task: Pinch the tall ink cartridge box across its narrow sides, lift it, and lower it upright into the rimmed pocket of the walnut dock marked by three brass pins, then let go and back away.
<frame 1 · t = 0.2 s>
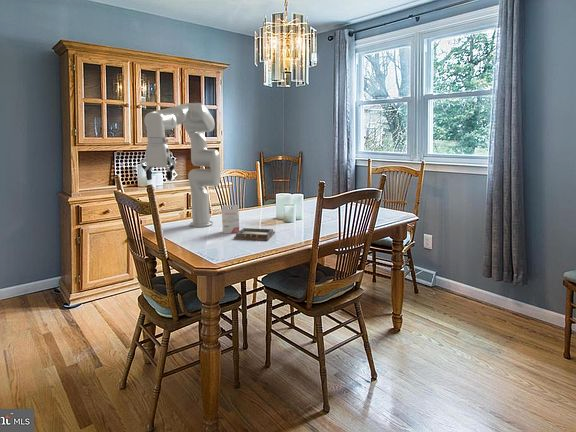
hand: (159, 180, 192), 31 cm above the table, tool pointing down, fingers open, 9 cm apart
dock: (254, 236, 215), on the table
ink cartridge box: (230, 232, 224), on the table
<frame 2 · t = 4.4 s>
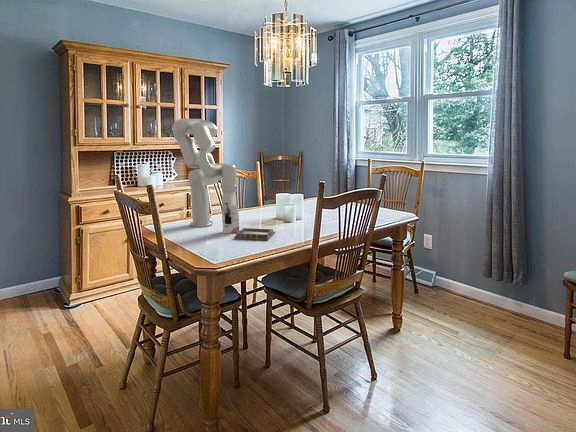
hand: (230, 222, 223), 5 cm above the table, tool pointing down, fingers closed on ink cartridge box, 6 cm apart
ink cartridge box: (230, 232, 224), on the table, touching gripper
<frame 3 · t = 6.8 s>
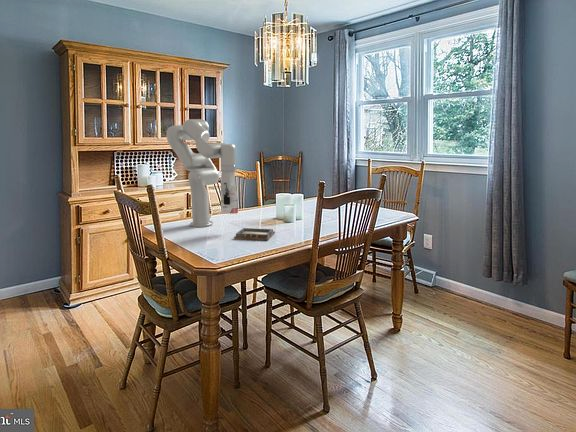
hand: (229, 202, 222), 15 cm above the table, tool pointing down, fingers closed on ink cartridge box, 6 cm apart
ink cartridge box: (229, 213, 223), point 10 cm above the table, touching gripper
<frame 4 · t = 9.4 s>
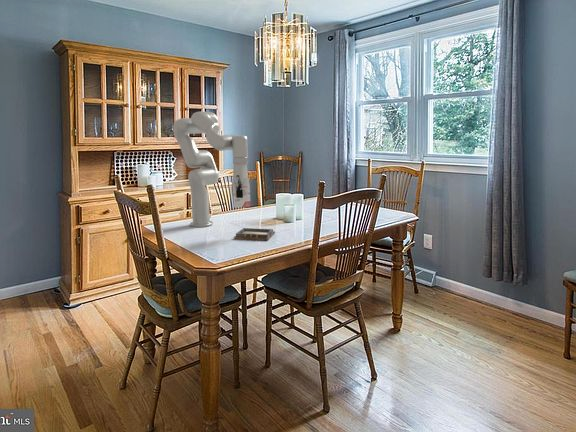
hand: (241, 196, 216), 20 cm above the table, tool pointing down, fingers closed on ink cartridge box, 6 cm apart
ink cartridge box: (242, 206, 217), point 14 cm above the table, touching gripper
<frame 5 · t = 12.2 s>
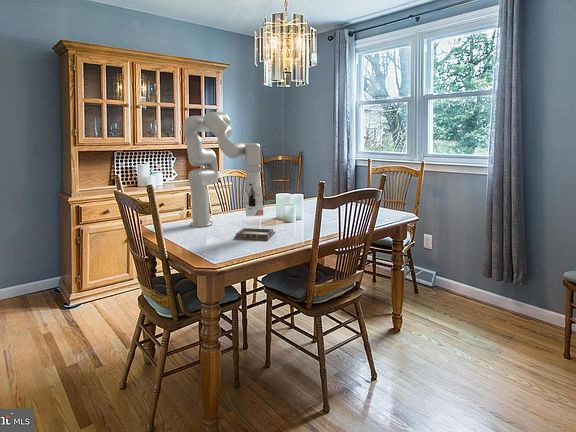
hand: (254, 204, 212), 16 cm above the table, tool pointing down, fingers closed on ink cartridge box, 6 cm apart
ink cartridge box: (254, 215, 213), point 11 cm above the table, touching gripper
when the fingers open (7 cm above the table, at t = 14.6 s): ink cartridge box stays where it is, resting on dock.
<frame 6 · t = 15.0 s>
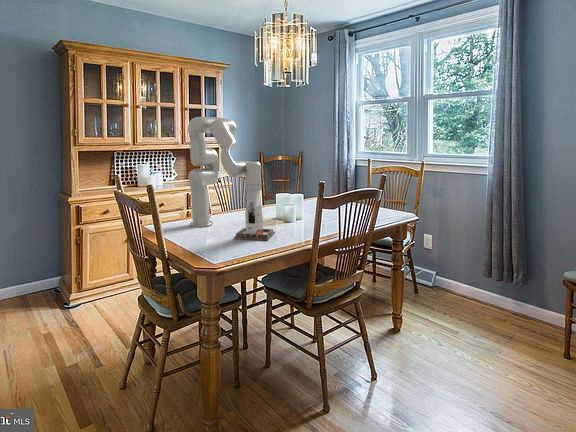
hand: (254, 221, 214), 8 cm above the table, tool pointing down, fingers open, 9 cm apart
ink cartridge box: (254, 234, 215), point 1 cm above the table, touching dock
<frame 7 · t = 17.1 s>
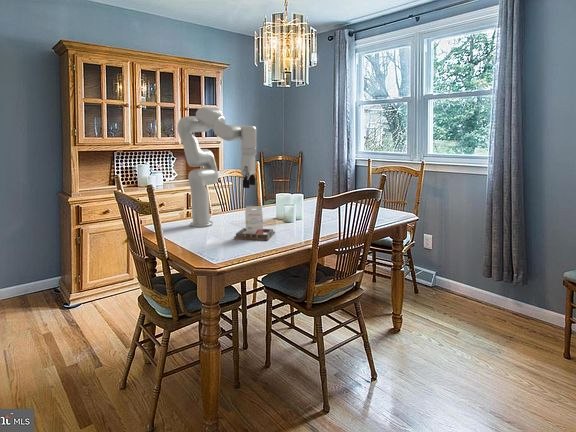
hand: (249, 186, 212), 25 cm above the table, tool pointing down, fingers open, 9 cm apart
nothing on the table moved.
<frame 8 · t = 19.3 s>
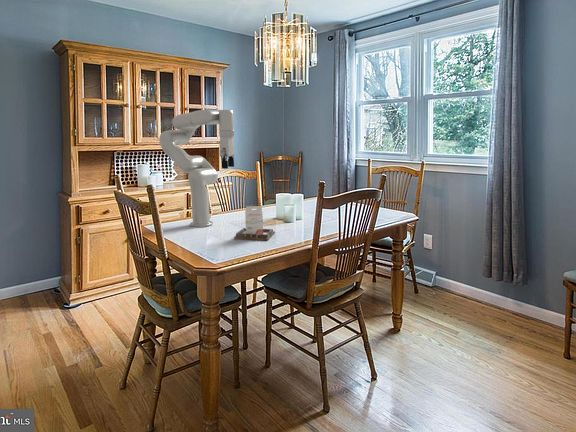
hand: (228, 167, 223), 33 cm above the table, tool pointing down, fingers open, 9 cm apart
nothing on the table moved.
at the end: ink cartridge box 0.4 cm off-centre on the dock, point 0.9 cm above the dock's base; ink cartridge box tilted 0°; the gripper is holding nothing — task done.
